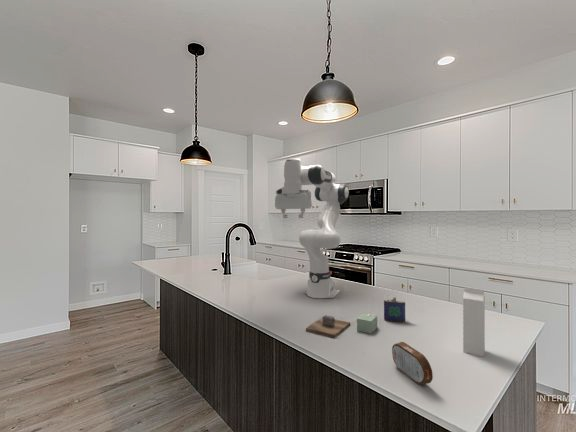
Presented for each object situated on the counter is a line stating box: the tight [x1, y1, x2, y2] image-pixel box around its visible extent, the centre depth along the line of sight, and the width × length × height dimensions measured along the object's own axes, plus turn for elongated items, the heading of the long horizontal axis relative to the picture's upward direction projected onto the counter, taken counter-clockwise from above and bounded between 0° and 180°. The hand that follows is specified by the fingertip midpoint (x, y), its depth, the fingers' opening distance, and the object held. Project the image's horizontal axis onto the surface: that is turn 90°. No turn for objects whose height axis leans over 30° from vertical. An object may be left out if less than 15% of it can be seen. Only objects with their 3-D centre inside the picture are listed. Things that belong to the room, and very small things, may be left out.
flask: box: [383, 296, 407, 323], centre depth 134 cm, size 9×3×11 cm, turn 74°
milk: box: [462, 287, 486, 357], centre depth 104 cm, size 6×6×22 cm
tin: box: [391, 341, 434, 386], centre depth 88 cm, size 15×3×8 cm, turn 17°
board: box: [305, 317, 351, 339], centre depth 126 cm, size 16×13×1 cm
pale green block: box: [356, 312, 378, 334], centre depth 125 cm, size 6×8×5 cm
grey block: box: [322, 314, 336, 327], centre depth 126 cm, size 2×4×5 cm, turn 56°
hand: (293, 218), depth 149 cm, fingers open, 8 cm apart
